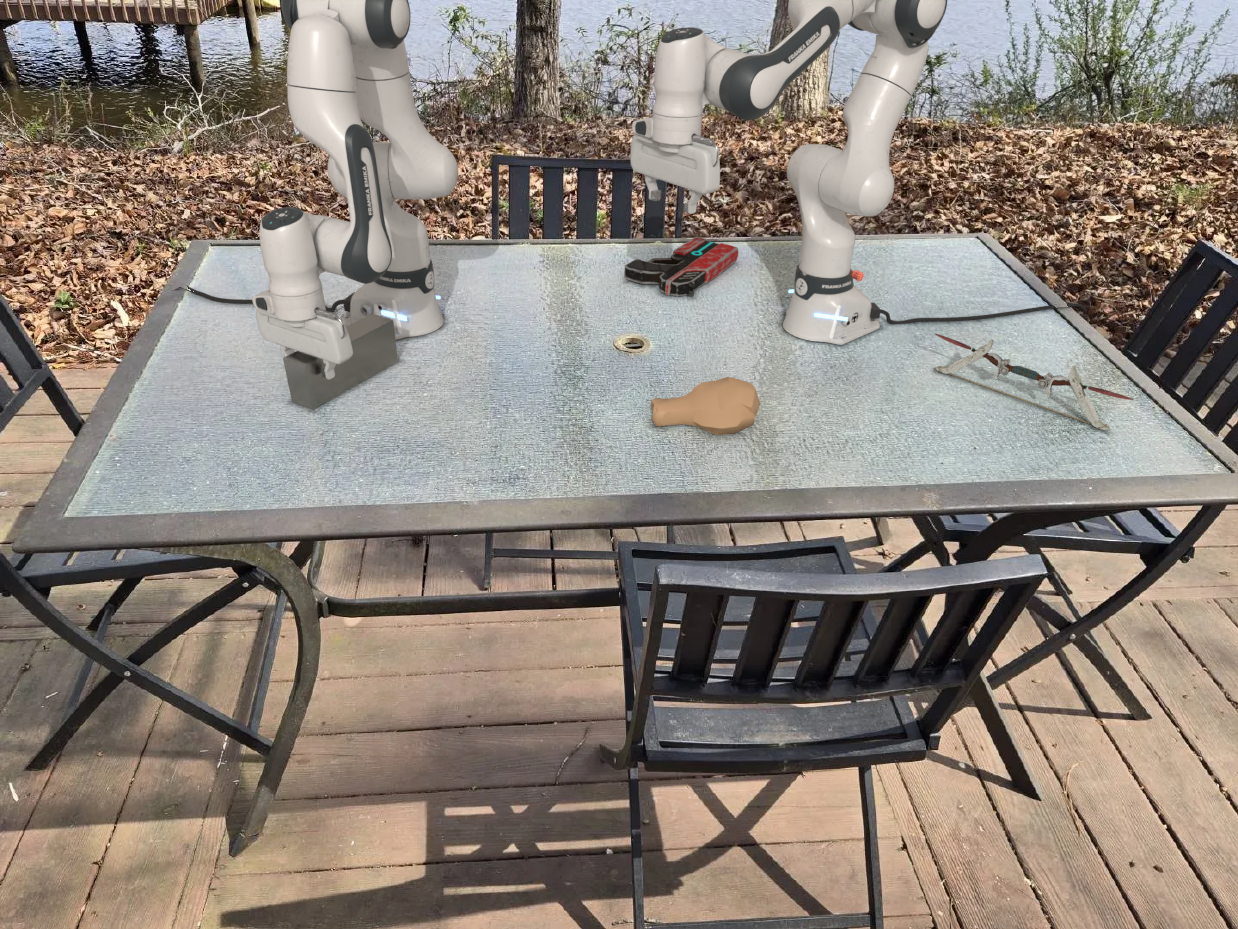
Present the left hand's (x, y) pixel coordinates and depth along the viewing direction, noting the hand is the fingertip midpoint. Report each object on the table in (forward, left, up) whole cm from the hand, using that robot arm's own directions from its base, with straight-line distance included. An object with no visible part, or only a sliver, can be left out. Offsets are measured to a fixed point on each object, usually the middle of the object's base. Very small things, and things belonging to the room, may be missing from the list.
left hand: (311, 371), depth 164 cm
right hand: (+58, +38, +27) cm, 74 cm away
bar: (+2, +8, -6) cm, 10 cm away
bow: (+128, +48, -6) cm, 137 cm away
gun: (+49, +88, -6) cm, 101 cm away
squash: (+72, +16, -6) cm, 74 cm away
